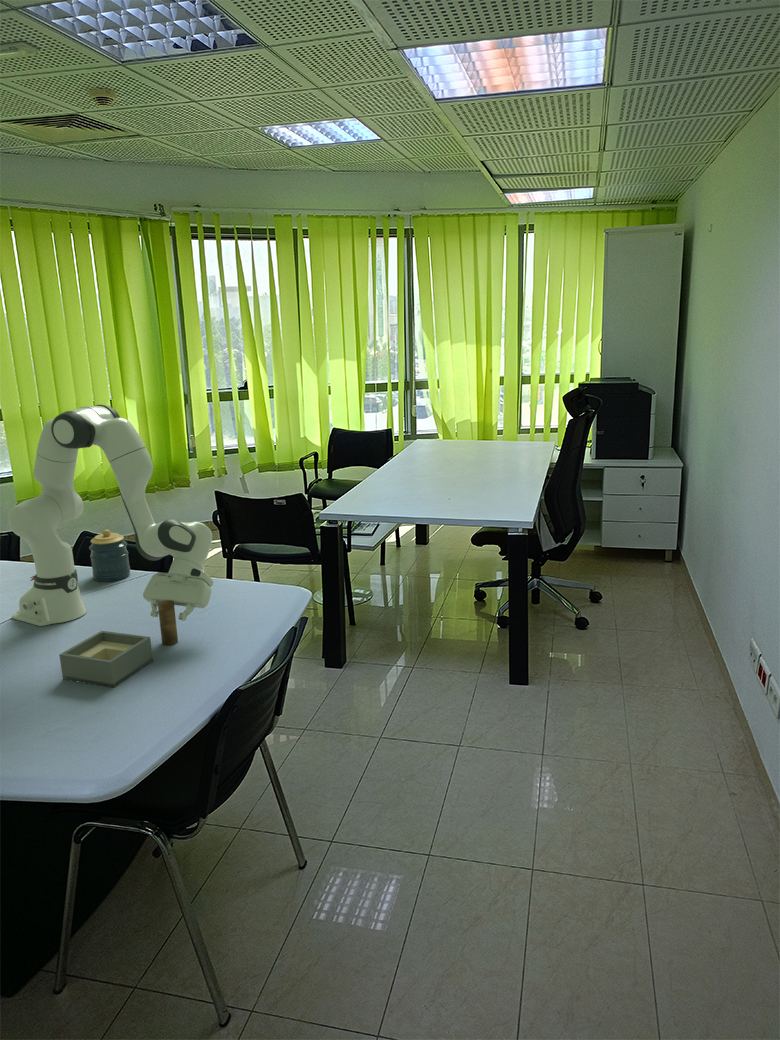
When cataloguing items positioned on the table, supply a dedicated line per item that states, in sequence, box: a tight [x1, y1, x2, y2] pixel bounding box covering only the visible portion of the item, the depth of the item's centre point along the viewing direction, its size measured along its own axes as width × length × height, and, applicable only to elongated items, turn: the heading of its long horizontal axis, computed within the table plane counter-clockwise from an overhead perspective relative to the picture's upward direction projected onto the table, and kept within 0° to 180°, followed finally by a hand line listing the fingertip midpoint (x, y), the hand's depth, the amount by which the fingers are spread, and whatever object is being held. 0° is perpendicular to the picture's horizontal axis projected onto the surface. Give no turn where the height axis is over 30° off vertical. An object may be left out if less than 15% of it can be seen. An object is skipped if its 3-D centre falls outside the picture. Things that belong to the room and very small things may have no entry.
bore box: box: [58, 630, 154, 689], centre depth 200 cm, size 16×16×7 cm
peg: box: [157, 600, 179, 646], centre depth 216 cm, size 4×4×12 cm
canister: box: [88, 529, 131, 583], centre depth 273 cm, size 13×13×18 cm
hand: (167, 618), depth 215 cm, fingers open, 8 cm apart
